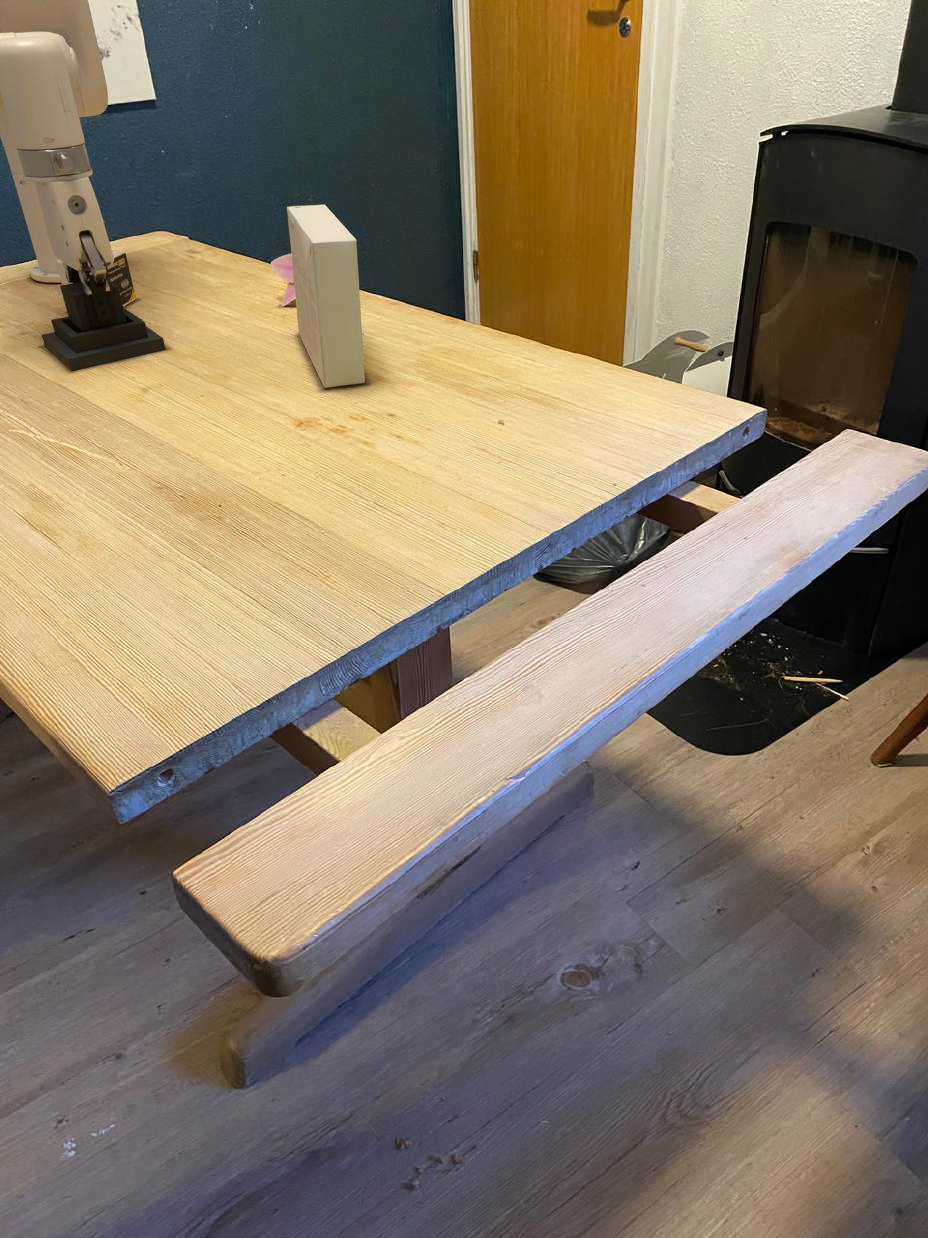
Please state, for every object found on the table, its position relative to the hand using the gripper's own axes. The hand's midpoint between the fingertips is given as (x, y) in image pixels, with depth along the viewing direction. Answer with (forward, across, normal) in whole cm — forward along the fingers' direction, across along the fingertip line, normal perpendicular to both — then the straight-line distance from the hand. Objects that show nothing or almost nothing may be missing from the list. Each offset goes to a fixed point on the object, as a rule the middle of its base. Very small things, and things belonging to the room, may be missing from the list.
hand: (96, 317), depth 115 cm
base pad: (+4, 0, 0) cm, 4 cm away
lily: (+4, -1, -30) cm, 30 cm away
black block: (0, 0, 0) cm, 1 cm away
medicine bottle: (+4, +19, -6) cm, 20 cm away
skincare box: (+4, -23, -21) cm, 31 cm away
